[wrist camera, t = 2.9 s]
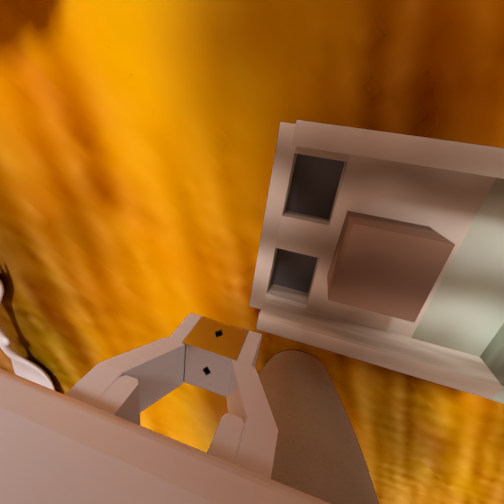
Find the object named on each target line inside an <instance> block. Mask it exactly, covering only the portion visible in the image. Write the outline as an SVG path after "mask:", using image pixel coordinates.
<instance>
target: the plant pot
mask: <svg viewBox="0 0 504 504" xmlns="http://www.w3.org/2000/svg"><path fill="white" fill-rule="evenodd" d="M258 376H259V379H260V381H261V384H262V387H263V390H264V392H265V395H266V398H267V401H268V404H269V406H270V409H271V412H272V415H273V417H274V420H275V423H276V426H277V428H278V435H277V442H276V448H275V454H274V461H273V467H272V474H271V479H272V480H275V481H277V482H279V483H282V484H284V485H287V486H289V487H292V488H294V489H297V490H299V491H301V492H304V493H306V494H309V495H311V496H314V497H316V498H319V499H321V500H323V501H326V502H328V503H331V504H379V502H378V499H377V495H376V492H375V489H374V486H373V483H372V480H371V477H370V474H369V471H368V468H367V465H366V462H365V459H364V457H363V454H362V451H361V448H360V446H359V443H358V440H357V438H356V435H355V433H354V430H353V427H352V425H351V422H350V420H349V417H348V415H347V413H346V410H345V408H344V406H343V404H342V401H341V399H340V397H339V395H338V393H337V390H336V388H335V386H334V384H333V382H332V380H331V378H330V376H329V374H328V373H327V371H326V369H325V367H324V366H323V365H322V363H321V362H320V361H319V360H317V359H316V358H315V357H313V356H311V355H310V354H307V353H304V352H301V351H295V350H289V351H283V352H280V353H277V354H276V355H274V356H273V357H272V358H271V359H270V360H269V361H268V362H267V363H266V365H265V366H264V367H263V368H262V369H261V370H260V372H259V373H258Z"/></svg>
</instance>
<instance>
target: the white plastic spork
mask: <svg viewBox="0 0 504 504" xmlns="http://www.w3.org/2000/svg"><path fill="white" fill-rule="evenodd" d="M3 295H4V286H3V283H2V281H1V279H0V305H1V301H2V298H3ZM10 344H11V341H10V339H9V338H8V337H7V336H6V335H5V333H4V332H3V330H2V328H1V326H0V347H1V349H2V350H3V352H4V353H5V354H6V355H7V356H8V357H10V358H11V360H12V364H13V368H14V371H15V374H16V375H18V376H20V377H23V378H25V379H27V380H30V381H32V382H35V383H37V384H40V385H42V386H45V387H47V388H49V389H52V390H54V391H55V387H54V385H53V382H52V380H51V378H50V377H49V375H48V374H47V373H46V372H45V371H44V370H43V369H42V368H41V367H39V366H38V365H36V364H35V363H33V362H31V361H30V360H28V359H26V358H24V357H23V356H21V355H19V354H18V353H17V352H15V351H14V350H13V349H12V347H11V346H10Z"/></svg>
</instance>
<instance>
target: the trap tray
mask: <svg viewBox="0 0 504 504" xmlns="http://www.w3.org/2000/svg"><path fill="white" fill-rule="evenodd" d="M347 211H352V212H358V213H363V214H368V215H373V216H378V217H383V218H388V219H393V220H398V221H403V222H408V223H413V224H418V225H423V226H429V227H431V228H432V229H434V230H435V231H436V232H438V233H439V234H441V235H442V236H444V237H445V238H447V239H448V240H449V241H451V242H452V243H454V244H455V246H454V248H453V250H452V252H451V254H450V256H449V258H448V260H447V262H446V263H445V265H444V267H443V269H442V271H441V273H440V275H439V277H438V279H437V281H436V282H435V284H434V286H433V288H432V290H431V292H430V294H429V296H428V298H427V300H426V302H425V303H424V305H423V307H422V309H421V311H420V313H419V315H418V317H417V319H416V321H415V323H414V322H410V321H406V320H402V319H399V318H395V317H391V316H387V315H383V314H380V313H376V312H372V311H368V310H364V309H361V308H357V307H353V306H349V305H345V304H342V303H338V302H334V301H330V300H328V285H327V274H328V271H329V268H330V265H331V262H332V258H333V255H334V252H335V249H336V245H337V242H338V239H339V236H340V233H341V229H342V226H343V223H344V220H345V216H346V213H347ZM249 306H250V307H254V308H257V309H261V311H260V313H259V316H258V321H257V326H256V329H257V330H261V331H264V332H267V333H271V334H274V335H277V336H281V337H284V338H287V339H291V340H294V341H297V342H301V343H304V344H307V345H311V346H314V347H317V348H321V349H324V350H327V351H331V352H334V353H337V354H341V355H344V356H347V357H351V358H354V359H357V360H361V361H364V362H367V363H371V364H374V365H377V366H381V367H384V368H387V369H391V370H394V371H397V372H401V373H404V374H407V375H411V376H414V377H417V378H421V379H424V380H427V381H431V382H434V383H437V384H441V385H444V386H447V387H451V388H454V389H457V390H461V391H464V392H467V393H471V394H474V395H477V396H481V397H484V398H487V399H491V400H494V401H497V402H501V403H504V148H498V147H491V146H484V145H477V144H470V143H462V142H455V141H448V140H441V139H433V138H426V137H419V136H412V135H404V134H397V133H390V132H383V131H375V130H368V129H361V128H354V127H347V126H339V125H332V124H325V123H318V122H310V121H303V120H296V124H294V123H287V122H280V127H279V133H278V139H277V145H276V151H275V157H274V163H273V168H272V174H271V180H270V186H269V192H268V198H267V204H266V209H265V215H264V221H263V227H262V233H261V239H260V245H259V250H258V256H257V262H256V268H255V274H254V280H253V286H252V292H251V297H250V303H249Z"/></svg>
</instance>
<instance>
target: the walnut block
mask: <svg viewBox="0 0 504 504" xmlns="http://www.w3.org/2000/svg"><path fill="white" fill-rule="evenodd" d="M454 246H455V244H454V243H452V242H451V241H449V240H448V239H447V238H445V237H444V236H442V235H441V234H439V233H438V232H436V231H435V230H434V229H432V228H431V227H429V226H423V225H418V224H413V223H408V222H403V221H398V220H393V219H388V218H383V217H378V216H373V215H368V214H363V213H358V212H352V211H347V213H346V216H345V220H344V223H343V226H342V229H341V233H340V236H339V239H338V242H337V245H336V249H335V252H334V255H333V258H332V262H331V265H330V268H329V271H328V274H327V285H328V300H330V301H334V302H338V303H342V304H345V305H349V306H353V307H357V308H361V309H364V310H368V311H372V312H376V313H380V314H383V315H387V316H391V317H395V318H399V319H402V320H406V321H410V322H414V323H415V321H416V319H417V317H418V315H419V313H420V311H421V309H422V307H423V305H424V303H425V302H426V300H427V298H428V296H429V294H430V292H431V290H432V288H433V286H434V284H435V282H436V281H437V279H438V277H439V275H440V273H441V271H442V269H443V267H444V265H445V263H446V262H447V260H448V258H449V256H450V254H451V252H452V250H453V248H454Z"/></svg>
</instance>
